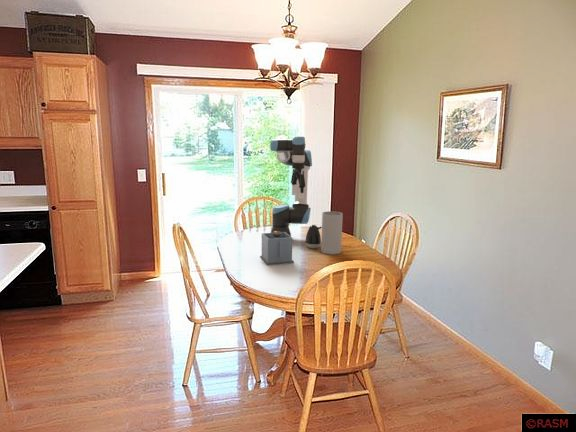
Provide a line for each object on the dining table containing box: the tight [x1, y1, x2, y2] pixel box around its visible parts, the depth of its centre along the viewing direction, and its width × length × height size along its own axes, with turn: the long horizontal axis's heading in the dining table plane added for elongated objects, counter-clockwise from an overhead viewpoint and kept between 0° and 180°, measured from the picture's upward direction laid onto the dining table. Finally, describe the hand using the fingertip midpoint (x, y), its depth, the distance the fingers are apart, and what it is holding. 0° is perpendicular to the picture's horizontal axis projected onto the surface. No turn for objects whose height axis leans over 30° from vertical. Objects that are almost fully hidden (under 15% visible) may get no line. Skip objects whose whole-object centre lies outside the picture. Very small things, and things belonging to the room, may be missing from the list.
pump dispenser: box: [305, 224, 322, 249], centre depth 268 cm, size 10×10×15 cm
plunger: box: [273, 231, 280, 238], centre depth 240 cm, size 12×12×13 cm
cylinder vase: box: [320, 210, 343, 256], centre depth 257 cm, size 12×12×25 cm
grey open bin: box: [259, 232, 294, 266], centre depth 240 cm, size 18×16×15 cm
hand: (297, 196), depth 255 cm, fingers open, 13 cm apart
